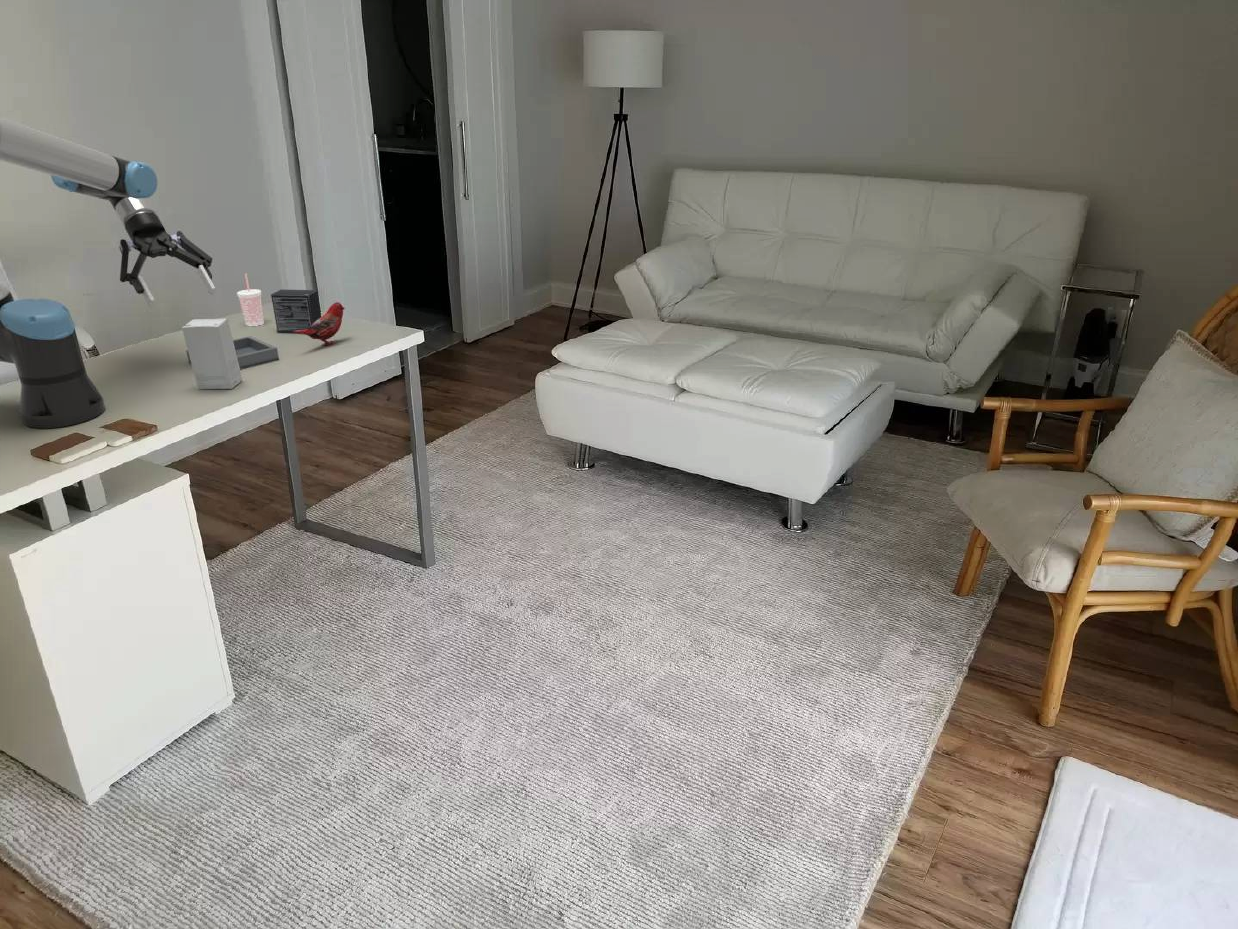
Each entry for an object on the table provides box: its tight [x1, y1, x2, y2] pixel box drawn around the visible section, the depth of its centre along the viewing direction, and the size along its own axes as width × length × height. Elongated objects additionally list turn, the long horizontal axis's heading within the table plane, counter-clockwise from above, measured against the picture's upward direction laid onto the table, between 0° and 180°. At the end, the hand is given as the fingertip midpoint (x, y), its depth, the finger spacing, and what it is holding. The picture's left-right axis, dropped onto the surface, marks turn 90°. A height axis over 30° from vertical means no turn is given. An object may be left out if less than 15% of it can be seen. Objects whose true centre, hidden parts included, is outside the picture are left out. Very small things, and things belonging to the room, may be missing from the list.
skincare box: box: [181, 318, 243, 390], centre depth 199 cm, size 8×6×15 cm
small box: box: [270, 289, 322, 334], centre depth 238 cm, size 11×6×10 cm, turn 84°
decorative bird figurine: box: [291, 301, 345, 347], centre depth 225 cm, size 3×18×10 cm, turn 149°
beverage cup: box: [236, 272, 265, 327], centre depth 242 cm, size 6×6×14 cm
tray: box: [186, 335, 280, 370], centre depth 217 cm, size 16×14×3 cm
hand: (183, 297), depth 202 cm, fingers open, 13 cm apart
